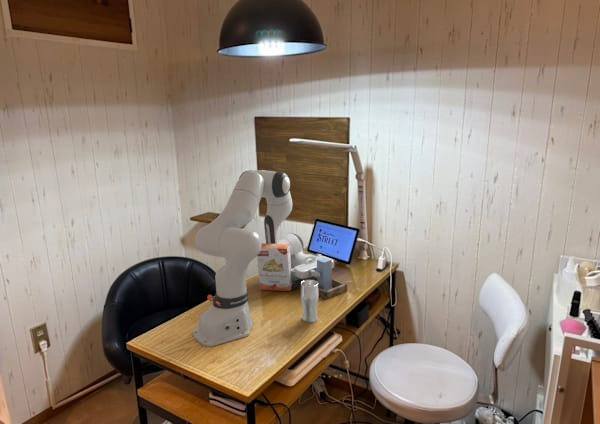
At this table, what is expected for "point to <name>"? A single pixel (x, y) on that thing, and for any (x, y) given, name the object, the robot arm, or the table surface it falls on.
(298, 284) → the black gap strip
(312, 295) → the beer glass
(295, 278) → the green felt pad
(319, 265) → the slate block
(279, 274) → the cracker box
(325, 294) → the dark wooden tray
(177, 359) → the table surface
